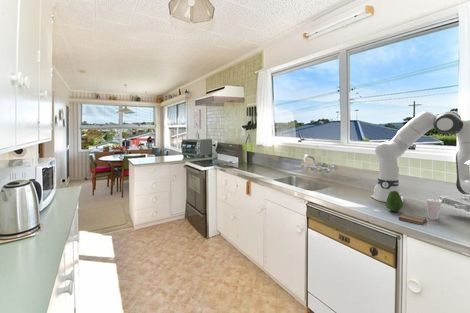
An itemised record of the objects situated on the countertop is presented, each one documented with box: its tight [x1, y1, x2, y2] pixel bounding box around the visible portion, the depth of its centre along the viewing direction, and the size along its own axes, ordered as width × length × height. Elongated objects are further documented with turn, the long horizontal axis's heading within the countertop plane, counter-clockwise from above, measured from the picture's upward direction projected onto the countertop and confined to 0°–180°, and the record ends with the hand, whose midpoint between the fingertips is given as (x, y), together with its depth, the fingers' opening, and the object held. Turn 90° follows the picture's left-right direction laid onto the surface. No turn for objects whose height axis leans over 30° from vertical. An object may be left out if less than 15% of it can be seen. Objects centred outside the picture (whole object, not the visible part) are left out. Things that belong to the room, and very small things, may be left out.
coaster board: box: [398, 212, 427, 226], centre depth 130 cm, size 10×10×2 cm
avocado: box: [385, 191, 404, 213], centre depth 143 cm, size 8×8×12 cm
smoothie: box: [426, 191, 443, 220], centre depth 132 cm, size 6×6×14 cm
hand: (447, 203), depth 133 cm, fingers open, 8 cm apart
